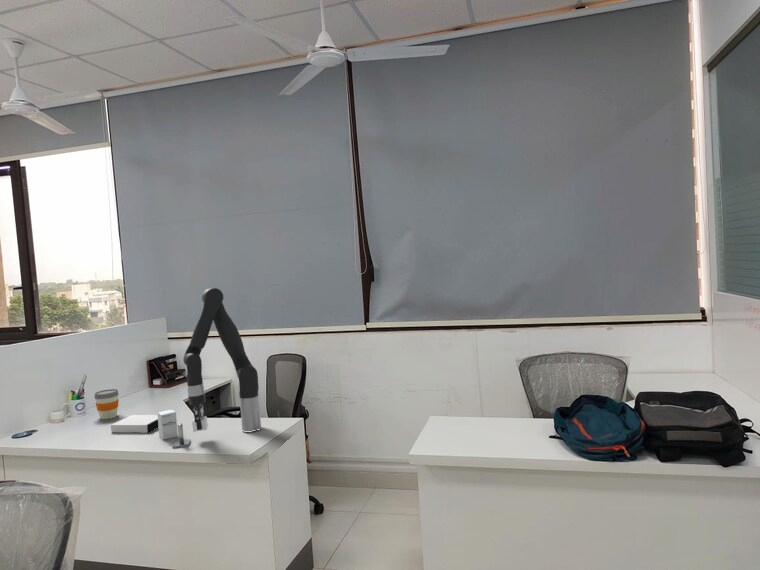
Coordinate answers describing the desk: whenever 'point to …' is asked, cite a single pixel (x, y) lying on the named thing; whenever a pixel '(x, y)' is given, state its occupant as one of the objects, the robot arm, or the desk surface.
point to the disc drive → (136, 424)
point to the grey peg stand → (181, 438)
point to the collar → (203, 422)
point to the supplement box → (167, 424)
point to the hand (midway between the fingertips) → (200, 427)
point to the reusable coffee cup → (107, 403)
